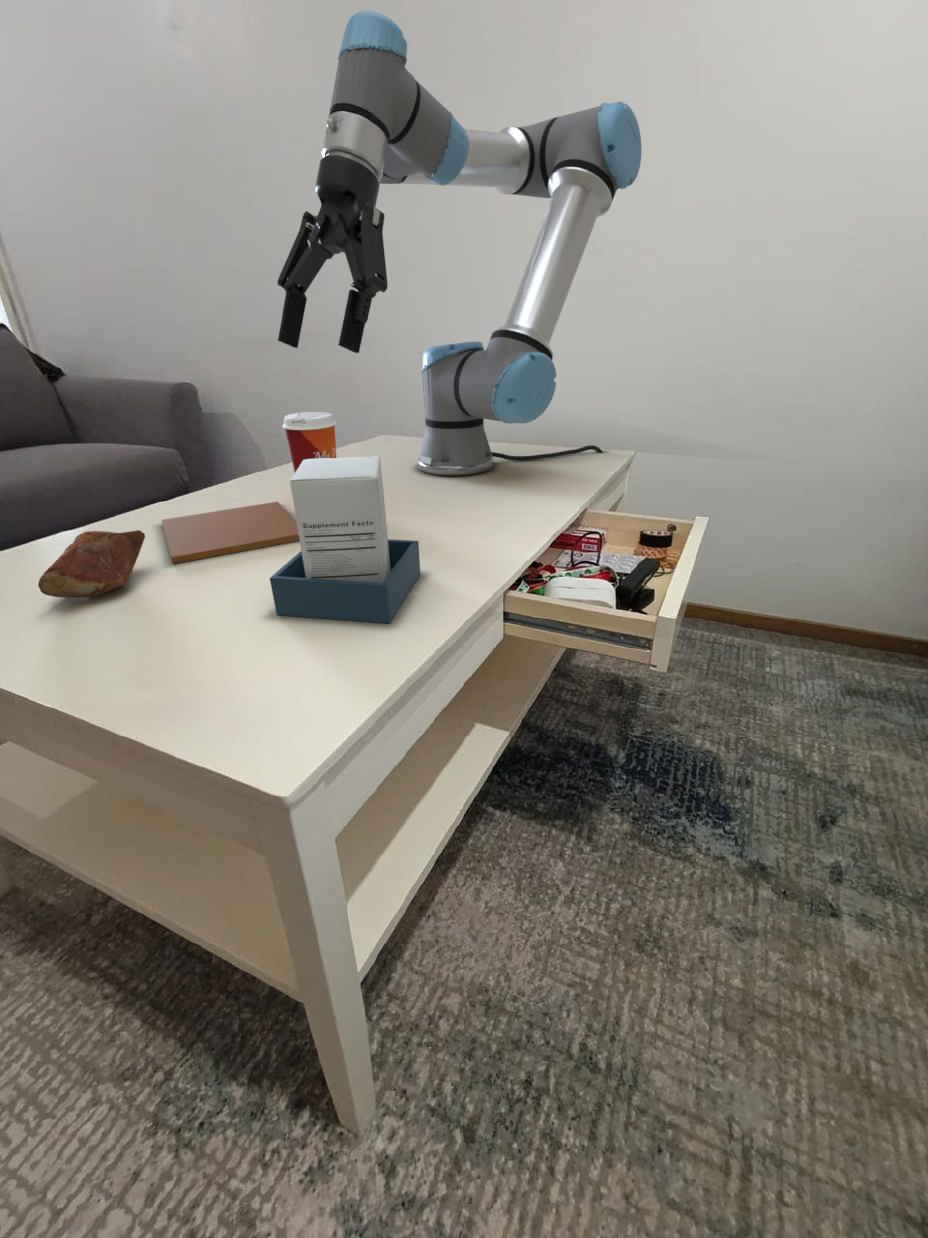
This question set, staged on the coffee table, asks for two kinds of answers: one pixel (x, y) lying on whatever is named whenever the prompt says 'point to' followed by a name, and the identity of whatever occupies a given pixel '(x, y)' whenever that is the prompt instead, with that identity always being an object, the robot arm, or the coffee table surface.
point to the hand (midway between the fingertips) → (316, 346)
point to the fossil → (93, 564)
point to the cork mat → (228, 531)
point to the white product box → (342, 519)
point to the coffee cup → (310, 436)
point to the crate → (347, 589)
